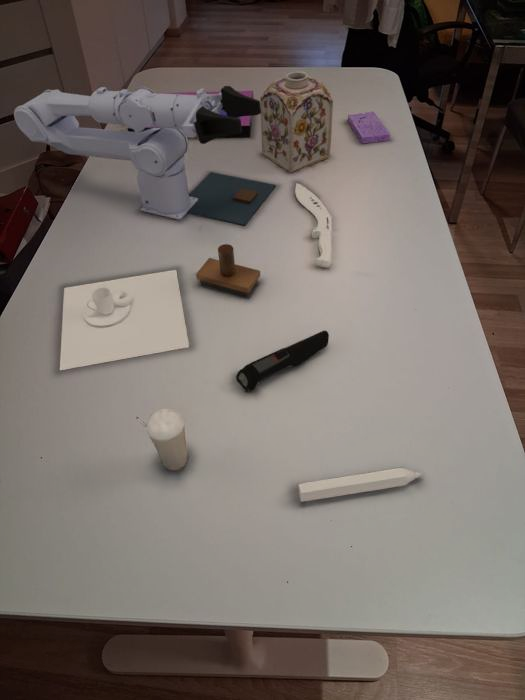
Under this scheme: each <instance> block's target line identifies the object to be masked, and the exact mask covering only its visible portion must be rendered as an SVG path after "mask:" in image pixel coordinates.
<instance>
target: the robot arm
mask: <svg viewBox="0 0 525 700" xmlns="http://www.w3.org/2000/svg"><path fill="white" fill-rule="evenodd" d="M220 91H221V92H220V93H219V94H206V92H207V91H206V89H205V88H203V87H202V88H199V89H198V90H197V91H196V92H197V95H182V94H163V93H164V92H155V91H154V90H152V89H151V88H149V87H145V86H142V85H141V86H139V87H137V88H136V89H135V90H134V91H133V92H131V91H128V89H126V88H122V89H121V90H108V89H107V87H106V86H101V87H99V88H98V89H96V90H95V91H93V92H92V93H91V95H85V94H76V93H69V92H62V91H61V90H60V89H58V88H57V89H45V90H44V91H43V92H42V93H40V94H38V95H37V96H36V97H34V98H32V99H30V100H29V101H27V102H25V103H24V104H22V105H17V107H15V109H14V111H13V117H14V121H15V123H16V126H17V127H18V128H19V130H20V131H21V132H22V133H23V134H24V135H25V136H26V137H27V138H28V139H29V140H30V141H31V142H34V143H35V142H36V143H44V144H46V145H48V146H50V147H52V148H54V149H57V150H59V151H60V152H61V153H64V154H67V155H72V156H73V155H74V156H82V157H83V156H84V157H93V158H101V159H111V160H120V161H129V162H131V163H132V165H133V167H134V168H135V169H136V170H138V171H137V186H138V190H139V194H140V199H141V204H142V207H141V209H140V210H141V212H145V213H148V214H153V215H157V216H162V217H165V218H170V219H174V220H179V221H180V220H182V219H183V218H184V217H185V216H186V214H188V213H187V212H188V210H189V209H190V208H191V207H192V206H193V205H194V204H195V203H196V202H197V201H198V198H194V197H190V196H189V194H190V193H189V185H188V180H187V172H186V165H185V161H186V157H185V154H186V153H187V151H188V150H189V146H190V145H189V144H190V143H189V139H187V137H190V138H194V137H195V136H196V134H198V137H199V139H198V141H199V143H200V144H202V145H203V144H208V143H209V142H211V141H214V140H217V139H220V138H219V137H223V136H229V135H234V134H239V133H241V132H242V126H241V119H239V118H237V117H242V116H252V117H253V116H258V115H261V101H260V100H258V99H255V98H254V97H253V98H250V97H247V96H245V95H242V94H240V93H239V92H237V91H238V90H236V89H235V88H233V87H232V86H231V85H224V86H223V87H222V88H221V89H220ZM221 110H225V111H224V112H226V114H227V116H226V115H221V114H220V112H221ZM76 117H92V118H93V120H94V121H95V122H97V123H99V124H109V125H122V126H126V127H127V128H128V127H129V128H131V129H134V131H135V132H129V131H128V130H127V131H126V130H118V129H117V130H116V129H105V128H104V129H103V128H91V127H80V123H79V121H78V119H77V118H76ZM145 127H159V128H152V129H149V130H146V131H142V130H143V129H144V128H145ZM181 129H183V131H182V130H181ZM140 131H142V132H140Z"/></svg>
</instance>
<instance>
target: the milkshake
mask: <svg viewBox="0 0 525 700" xmlns="http://www.w3.org/2000/svg"><path fill="white" fill-rule="evenodd" d="M135 417H136V418H135V420H136V421H137V422H138V423H139V424H141V425H142V426H143V427H144V428H145V429H146V433H147V435H148V437H149V438H150V441H151V442H152V444H153V446H154V448H155V449H156V451H157V454H158V455H159V456H158V457H159V458H160V460H161V462H162V464H163V466H164V468H165V469H167V470H169V471H170V472H171V471H173V472H174V471H180V470H181V469H183V468H184V467H185V466H186V465H187V462H188V460H189V457H188V448H187V447H188V446H187V441H186V440H187V439H186V429H185V420H184V417H183V416H182V415H181V413H180V412H179V411H178V410H175V409H173V408H161V409H159V410H157V411H156V412H154V413H153V414H151V416H149V417H148V419H147V422H146V423H145V422H144V421H143V420H142V419H140V418H139V417H138V416H135Z"/></svg>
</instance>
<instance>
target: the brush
mask: <svg viewBox="0 0 525 700" xmlns="http://www.w3.org/2000/svg"><path fill="white" fill-rule="evenodd" d="M217 254H218V255H217V256H218V259H216V258H212V257H209V258H208V259H207V260H206V261H205V262H204V264H203V265H202V266H201V267H200V268H199V270H198V271H197V272H196V273H195V277H196V280H198V281H199V285H200V286H202V287H206V288H209V289H212V290H216V291H221V292H224V293H227V294H231V295H236V296H238V297H243V298H246V299H248V298H249V297H250V295H251V293H252V292H253V291H254V290H255V288H256V286H257V285H258V283H259V278H260V277H261V270H258V269H255V268H251V267H247V266H243V265H240V264H236V263H235V262H236V261H235V251H234V246H233V245H232V244H227V243H224V244H221V245H219V246H218V247H217Z"/></svg>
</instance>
